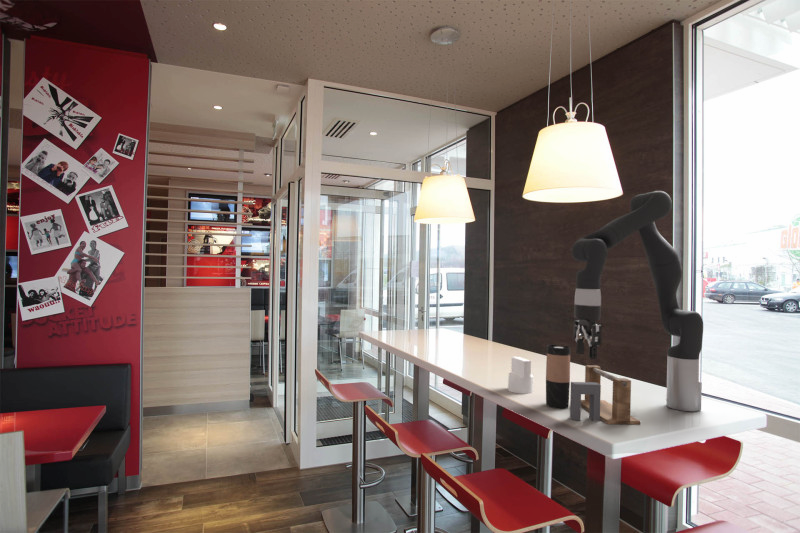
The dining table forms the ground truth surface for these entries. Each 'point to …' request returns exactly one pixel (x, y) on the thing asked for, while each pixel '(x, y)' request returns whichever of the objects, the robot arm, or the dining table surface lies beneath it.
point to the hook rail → (620, 401)
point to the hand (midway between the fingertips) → (586, 356)
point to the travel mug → (557, 376)
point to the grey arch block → (594, 399)
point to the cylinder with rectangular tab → (520, 376)
